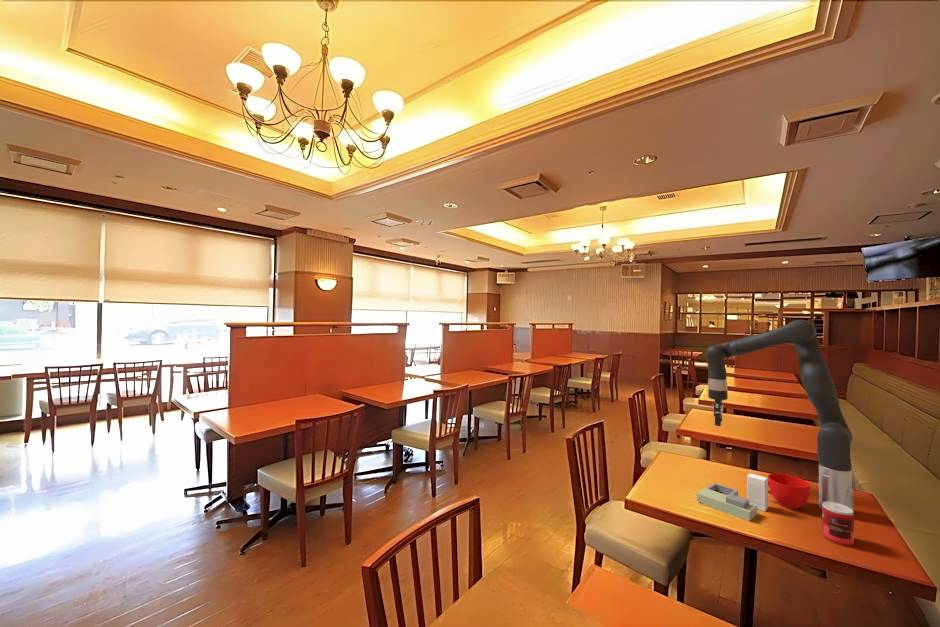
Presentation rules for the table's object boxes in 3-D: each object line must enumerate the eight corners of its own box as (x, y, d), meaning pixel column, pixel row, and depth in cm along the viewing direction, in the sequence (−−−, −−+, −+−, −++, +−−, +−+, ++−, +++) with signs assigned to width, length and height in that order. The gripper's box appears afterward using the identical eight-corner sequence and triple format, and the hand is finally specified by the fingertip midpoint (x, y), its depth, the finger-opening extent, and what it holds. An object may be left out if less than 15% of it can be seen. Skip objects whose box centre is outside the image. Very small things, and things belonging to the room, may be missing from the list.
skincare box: (768, 508, 150) (768, 477, 150) (765, 511, 148) (765, 480, 148) (750, 502, 155) (749, 472, 155) (746, 505, 152) (746, 475, 152)
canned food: (836, 532, 134) (836, 501, 134) (861, 546, 126) (860, 513, 126) (815, 532, 133) (815, 501, 133) (838, 546, 125) (838, 513, 125)
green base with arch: (765, 507, 151) (765, 493, 151) (749, 521, 141) (749, 506, 141) (714, 489, 166) (714, 477, 166) (695, 501, 156) (695, 488, 156)
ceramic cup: (754, 492, 164) (754, 468, 164) (805, 502, 155) (805, 477, 155) (758, 505, 153) (758, 480, 153) (814, 516, 144) (814, 490, 144)
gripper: (726, 391, 168) (727, 428, 168) (728, 386, 180) (729, 421, 180) (706, 390, 173) (707, 426, 173) (709, 385, 184) (710, 419, 184)
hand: (718, 423), depth 176 cm, fingers open, 8 cm apart
